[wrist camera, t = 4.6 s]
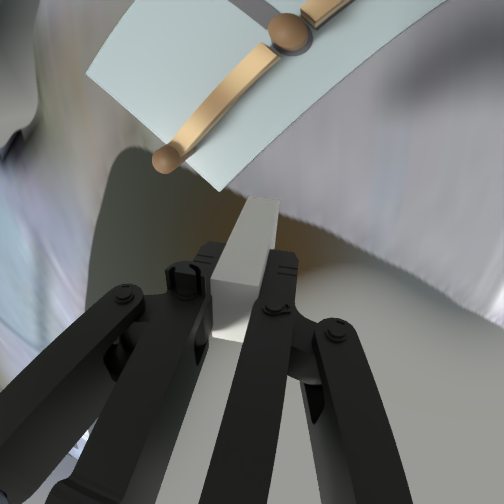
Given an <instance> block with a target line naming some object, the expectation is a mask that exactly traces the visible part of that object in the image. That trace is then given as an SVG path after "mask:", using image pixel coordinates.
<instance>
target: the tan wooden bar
mask: <svg viewBox="0 0 504 504" xmlns="http://www.w3.org/2000/svg"><path fill="white" fill-rule="evenodd" d="M280 59H281V57H280V56H279V55H278V54H276V53H275V52H274V51H273V50H272V49H271V48H270V47H268V46H267V45H265V44H263V43H262V42H260V43H259V44H258V45H257V46H256V47H255V48H254V49H253V50H252V51H251V52H250V53H249V54H248V55H247V56H246V57H245V58H244V59H243V60H242V61H241V62H240V63H239V64H238V65H237V66H236V67H235V68H234V69H233V70H232V71H231V72H230V73H229V74H228V75H227V76H226V77H225V78H224V80H223V81H222V82H221V83H220V84H219V85H218V86H217V87H216V88H215V89H214V90H213V91H212V93H211V94H210V95H209V96H208V97H207V98H206V99H205V100H204V101H203V103H202V104H201V105H200V106H199V107H198V108H197V110H196V111H195V112H194V113H193V114H192V115H191V117H190V118H189V119H188V120H187V121H186V122H185V124H184V125H183V126H182V127H181V128H180V130H179V131H178V132H177V133H176V135H175V136H174V137H173V138H172V140H171V141H170V142H169V143H168V144H166V145H165V146H163V147H161V148H160V149H158V150H157V151H155V153H154V154H153V157H152V162H153V165H154V167H155V169H156V170H157V171H159V172H161V173H164V174H167V173H170V172H172V171H173V170H174V169H175V168H177V167H178V166H179V165H181V164H182V163H183V162H184V161H185V160H187V159H188V158H189V157H191V156H192V155H193V154H194V153H195V150H196V145H197V144H198V143H199V142H200V141H201V140H202V139H203V137H204V136H205V135H206V134H207V133H208V132H209V131H210V130H211V129H212V127H213V126H214V125H215V124H216V123H217V122H218V121H219V120H220V119H221V118H222V117H223V116H224V114H225V113H226V112H227V111H228V110H229V109H230V108H231V107H232V106H233V105H234V104H235V103H236V102H237V101H238V100H239V99H240V98H241V97H242V96H243V95H244V94H245V93H246V92H247V91H248V90H249V89H250V88H251V87H252V86H253V85H254V84H255V83H256V82H257V81H258V80H259V79H260V78H261V77H262V76H263V75H264V74H265V73H266V72H267V71H268V70H269V69H270V68H271V67H273V66H274V65H275V64H276V63H277V62H278V61H279V60H280Z"/></svg>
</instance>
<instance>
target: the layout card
mask: <svg viewBox="0 0 504 504" xmlns="http://www.w3.org/2000/svg"><path fill="white" fill-rule="evenodd" d="M307 1H308V0H135V2H134V3H133V4H132V5H131V7H130V8H129V9H128V11H127V12H126V13H125V15H124V16H123V17H122V19H121V20H120V21H119V23H118V24H117V26H116V27H115V28H114V30H113V31H112V33H111V34H110V36H109V37H108V39H107V40H106V42H105V43H104V45H103V46H102V48H101V49H100V51H99V53H98V54H97V56H96V57H95V59H94V61H93V62H92V64H91V66H90V67H89V69H88V71H87V73H86V74H87V75H88V76H89V77H90V78H91V79H92V80H94V81H95V82H96V83H97V84H98V85H99V86H101V87H102V88H103V89H104V90H105V91H106V92H108V93H109V94H110V95H111V96H112V97H113V98H115V99H116V100H117V101H118V102H119V103H120V104H121V105H123V106H124V107H125V108H126V109H127V110H128V111H129V112H131V113H132V114H133V115H134V116H135V117H136V118H137V119H139V120H140V121H141V122H142V123H143V124H144V125H145V126H146V127H148V128H149V129H150V130H151V131H152V132H153V133H154V134H156V135H157V136H158V137H159V138H160V139H161V140H162V141H163V142H165V143H166V144H168V143H169V142H170V141H171V140H172V138H173V137H174V136H175V135H176V133H177V132H178V131H179V130H180V128H181V127H182V126H183V125H184V124H185V122H186V121H187V120H188V119H189V118H190V117H191V115H192V114H193V113H194V112H195V111H196V110H197V108H198V107H199V106H200V105H201V104H202V103H203V101H204V100H205V99H206V98H207V97H208V96H209V95H210V94H211V93H212V91H213V90H214V89H215V88H216V87H217V86H218V85H219V84H220V83H221V82H222V81H223V80H224V78H225V77H226V76H227V75H228V74H229V73H230V72H231V71H232V70H233V69H234V68H235V67H236V66H237V65H238V64H239V63H240V62H241V61H242V60H243V59H244V58H245V57H246V56H247V55H248V54H249V53H250V52H251V51H252V50H253V49H254V48H255V47H256V46H257V45H258V44H259V43H260V42H262V43H263V44H265V45H267V46H268V47H270V48H271V49H272V50H273V51H274V52H275V53H276V54H278V55H279V56H280V57H281V59H280V60H279V61H278V62H277V63H276V64H275V65H274V66H273V67H271V68H270V69H269V70H268V71H267V72H266V73H265V74H264V75H263V76H262V77H261V78H260V79H259V80H258V81H257V82H256V83H255V84H254V85H253V86H252V87H251V88H250V89H249V90H248V91H247V92H246V93H245V94H244V95H243V96H242V97H241V98H240V99H239V100H238V101H237V102H236V103H235V104H234V105H233V106H232V107H231V108H230V109H229V110H228V111H227V112H226V113H225V114H224V116H223V117H222V118H221V119H220V120H219V121H218V122H217V123H216V124H215V125H214V126H213V127H212V129H211V130H210V131H209V132H208V133H207V134H206V135H205V136H204V137H203V139H202V140H201V141H200V142H199V143H198V144H197V145H196V150H195V153H194V154H193V155H192V156H191V157H189V158H188V159H187V160H185V161H186V162H187V163H188V164H189V165H190V166H191V167H192V168H193V169H195V170H196V171H197V172H198V173H199V174H200V175H201V176H202V177H203V178H204V179H206V180H207V181H208V182H209V183H210V184H211V185H212V186H213V187H214V188H215V189H217V190H218V191H219V192H220V191H221V190H222V189H223V188H224V187H225V186H226V185H227V184H228V183H229V182H230V181H231V180H232V179H233V178H234V177H235V176H236V175H237V174H238V173H239V172H240V171H241V170H242V169H243V168H244V167H245V166H246V165H247V164H248V163H250V162H251V161H252V160H253V159H254V158H255V157H256V156H257V155H258V154H259V153H260V152H261V151H262V150H263V149H264V148H265V147H266V146H267V145H269V144H270V143H271V142H272V141H273V140H274V139H275V138H276V137H277V136H278V135H279V134H280V133H281V132H283V131H284V130H285V129H286V128H287V127H288V126H289V125H290V124H291V123H292V122H294V121H295V120H296V119H297V118H298V117H299V116H300V115H301V114H302V113H304V112H305V111H306V110H307V109H308V108H309V107H310V106H312V105H313V104H314V103H315V102H316V101H317V100H318V99H320V98H321V97H322V96H323V95H324V94H325V93H327V92H328V91H329V90H330V89H331V88H332V87H334V86H335V85H336V84H337V83H338V82H339V81H341V80H342V79H343V78H344V77H345V76H347V75H348V74H349V73H350V72H351V71H353V70H354V69H355V68H356V67H358V66H359V65H360V64H361V63H363V62H364V61H365V60H366V59H367V58H369V57H370V56H371V55H372V54H374V53H375V52H376V51H378V50H379V49H380V48H381V47H383V46H384V45H385V44H387V43H388V42H389V41H390V40H392V39H393V38H394V37H396V36H397V35H398V34H400V33H401V32H402V31H404V30H405V29H406V28H408V27H409V26H410V25H412V24H413V23H414V22H416V21H417V20H419V19H420V18H421V17H423V16H424V15H426V14H427V13H428V12H430V11H431V10H433V9H434V8H435V7H437V6H438V5H440V4H441V3H443V2H444V1H446V0H351V1H349V2H348V3H347V4H345V5H344V6H343V7H341V8H340V9H339V10H338V11H336V12H335V13H334V14H333V15H331V16H330V17H329V18H328V19H326V20H325V21H324V22H323V23H321V24H320V25H319V26H318V27H317V28H314V27H313V26H311V25H310V24H309V23H308V22H307V21H306V20H305V19H303V18H302V17H301V12H300V7H301V6H302V5H303V4H305V3H306V2H307ZM282 13H292V14H295V15H297V16H299V17H300V18H301V19H302V20H303V21H304V22H305V24H306V27H307V36H308V40H307V43H306V45H305V46H304V47H303V48H302V49H301V50H298V51H294V52H291V51H286V50H284V49H282V48H281V47H280V46H279V45H277V44H276V43H275V42H274V41H273V40H272V39H271V38H270V36H269V33H268V26H269V23H270V21H271V20H272V19H273V18H274V17H275V16H277V15H279V14H282Z"/></svg>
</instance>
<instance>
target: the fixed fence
mask: <svg viewBox="0 0 504 504" xmlns="http://www.w3.org/2000/svg"><path fill="white" fill-rule="evenodd" d="M349 1H351V0H308V1H307V2H306V3H305V4H303V5H302V6H301V7H300V12H301V17H302V18H303V19H305V20H306V21H307V22H308V23H309V24H310V25H311V26H313V27H314V28H317V27H318V26H319V25H320V24H321V23H323V22H324V21H325V20H326V19H328V18H329V17H330V16H331V15H333V14H334V13H335V12H336V11H338V10H339V9H340V8H341V7H343V6H344V5H345V4H347V3H348V2H349ZM268 33H269V36H270V38H271V39H272V40H273V41H274V42H275V43H276V44H277V45H279V46H280V47H281V48H282V49H284V50H286V51H291V52H294V51H298V50H301V49H302V48H303V47H304V46H305V45H306V43H307V40H308V36H307V27H306V24H305V22H304V21H303V20H302V19H301V18H300V17H299V16H297V15H295V14H292V13H282V14H279V15H277V16H275V17H274V18H273V19H272V20H271V21H270V23H269V26H268Z"/></svg>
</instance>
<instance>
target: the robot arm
mask: <svg viewBox="0 0 504 504" xmlns="http://www.w3.org/2000/svg"><path fill="white" fill-rule="evenodd" d="M279 202H280V200H275V199H267V198H259V197H251V196H249V197H248V199H247V201H246V203H245V206H244V208H243V210H242V212H241V214H240V216H239V218H238V220H237V222H236V225H235V227H234V229H233V231H232V233H231V235H230V237H229V240H228V242H227V243H220V242H213V241H209V242H207V243H206V244H204V245H203V246H202V247H201V248H200V250H199V251H198V253H197V256H195V258H194V260H193V262H192V261H181V262H176V263H174V264H172V265H170V266H168V267H167V268H166V270H165V274H166V281H167V289H168V290H167V292H166V293H164V294H158V295H144V294H143V292H142V289H141V288H140V287H138V286H137V285H133V284H122V285H119V286H116V287H114V288H113V289H111V290H110V291H109V292H107V293H106V294H105V295H104V296H103V297H102V298H100V300H98V301H97V302H96V303H95V304H94V305H93V306H91V307H90V308H89V309H88V310H87V311H86V312H85V313H83V314H82V315H81V316H80V317H79V318H78V319H77V320H76V321H75V322H73V323H72V324H71V325H70V326H69V327H68V328H67V329H66V330H65V331H64V332H62V333H61V334H60V335H59V336H58V337H57V338H56V339H55V340H54V341H53V342H52V343H51V344H50V345H48V346H47V347H46V348H45V349H44V350H43V351H42V352H41V353H40V354H39V355H38V356H37V357H36V358H35V359H34V360H33V361H32V362H31V363H30V364H29V365H28V366H27V367H26V368H25V369H23V370H22V371H21V372H20V373H19V374H18V375H17V376H16V377H15V378H14V379H13V380H12V381H11V382H10V383H9V384H8V385H7V387H6V388H5V389H4V390H3V391H2V392H1V393H0V504H22V503H23V502H24V501H26V500H27V499H28V498H29V497H31V496H32V495H33V493H34V492H35V491H36V490H37V489H38V488H39V487H40V486H41V484H42V483H43V482H44V481H45V480H46V479H47V477H48V476H49V475H50V474H51V473H52V471H53V470H54V469H55V468H56V467H57V465H58V464H59V463H60V462H61V461H62V459H63V458H64V457H65V456H66V455H67V454H68V452H69V451H70V450H71V449H72V448H73V446H74V445H75V444H76V443H77V442H78V440H79V439H80V438H81V437H82V436H83V435H84V433H85V432H86V431H87V430H88V429H89V427H90V426H91V425H92V424H93V423H94V421H95V420H96V419H97V418H98V417H99V418H98V420H97V422H96V424H95V426H94V428H93V430H92V432H91V434H90V436H89V438H88V440H87V442H86V444H85V447H84V449H83V451H82V453H81V455H80V457H79V459H78V462H77V464H76V466H75V468H74V470H73V472H72V474H71V475H70V476H69V477H68V478H66V479H64V480H61V481H59V482H57V484H55V485H54V486H53V488H52V489H51V491H50V493H49V495H48V497H47V500H46V502H45V504H155V502H156V498H157V495H158V493H159V490H160V487H161V484H162V481H163V478H164V475H165V472H166V469H167V466H168V463H169V460H170V457H171V455H172V451H173V448H174V446H175V443H176V440H177V437H178V434H179V431H180V428H181V425H182V423H183V420H184V417H185V414H186V411H187V408H188V405H189V402H190V400H191V397H192V394H193V391H194V388H195V385H196V383H197V380H198V377H199V374H200V371H201V368H202V365H203V362H204V359H205V357H206V354H207V351H208V348H209V335H210V332H211V330H212V336H213V337H216V338H221V339H227V340H232V341H237V342H243V345H242V348H241V352H240V356H239V360H238V363H237V367H236V371H235V375H234V378H233V382H232V386H231V389H230V393H229V397H228V400H227V404H226V408H225V411H224V415H223V419H222V422H221V426H220V430H219V433H218V437H217V440H216V444H215V447H214V451H213V454H212V458H211V461H210V465H209V469H208V472H207V476H206V479H205V483H204V486H203V490H202V493H201V497H200V500H199V503H198V504H267V499H268V493H269V488H270V483H271V477H272V471H273V466H274V460H275V454H276V448H277V442H278V436H279V429H280V423H281V416H282V410H283V402H284V396H285V388H286V381H287V375H288V376H290V377H292V378H295V379H297V380H299V381H300V386H301V392H302V397H303V402H304V408H305V413H306V418H307V424H308V429H309V434H310V440H311V446H312V451H313V457H314V462H315V468H316V473H317V480H318V486H319V491H320V497H321V503H322V504H413V502H412V498H411V494H410V490H409V487H408V483H407V480H406V476H405V472H404V469H403V466H402V462H401V459H400V456H399V452H398V449H397V446H396V442H395V439H394V436H393V433H392V430H391V427H390V424H389V421H388V418H387V415H386V412H385V409H384V406H383V403H382V400H381V397H380V394H379V391H378V388H377V386H376V383H375V380H374V378H373V374H372V372H371V369H370V366H369V364H368V361H367V358H366V356H365V353H364V350H363V348H362V345H361V343H360V340H359V337H358V335H357V332H356V330H355V329H354V328H353V326H352V325H351V324H349V323H348V322H347V321H344V320H342V319H339V318H327V319H323V320H322V321H320V322H319V323H316V322H313V321H311V320H309V319H307V318H305V317H304V316H302V315H301V314H300V313H299V312H298V310H297V309H296V307H295V293H296V282H297V272H298V258H297V257H296V255H295V253H294V252H288V251H281V250H274V247H275V237H276V229H277V220H278V211H279Z"/></svg>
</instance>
